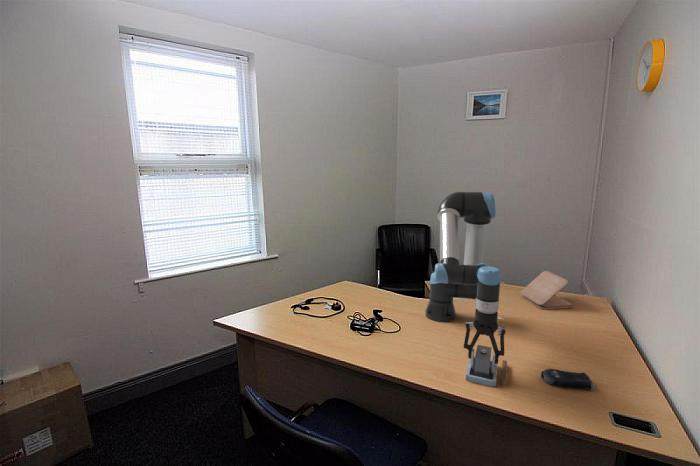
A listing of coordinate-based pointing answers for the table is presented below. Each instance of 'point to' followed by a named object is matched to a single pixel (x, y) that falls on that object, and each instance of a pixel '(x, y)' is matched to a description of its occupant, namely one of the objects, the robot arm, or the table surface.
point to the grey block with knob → (482, 361)
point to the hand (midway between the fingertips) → (482, 368)
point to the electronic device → (567, 379)
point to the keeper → (479, 379)
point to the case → (546, 292)
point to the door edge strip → (504, 372)
